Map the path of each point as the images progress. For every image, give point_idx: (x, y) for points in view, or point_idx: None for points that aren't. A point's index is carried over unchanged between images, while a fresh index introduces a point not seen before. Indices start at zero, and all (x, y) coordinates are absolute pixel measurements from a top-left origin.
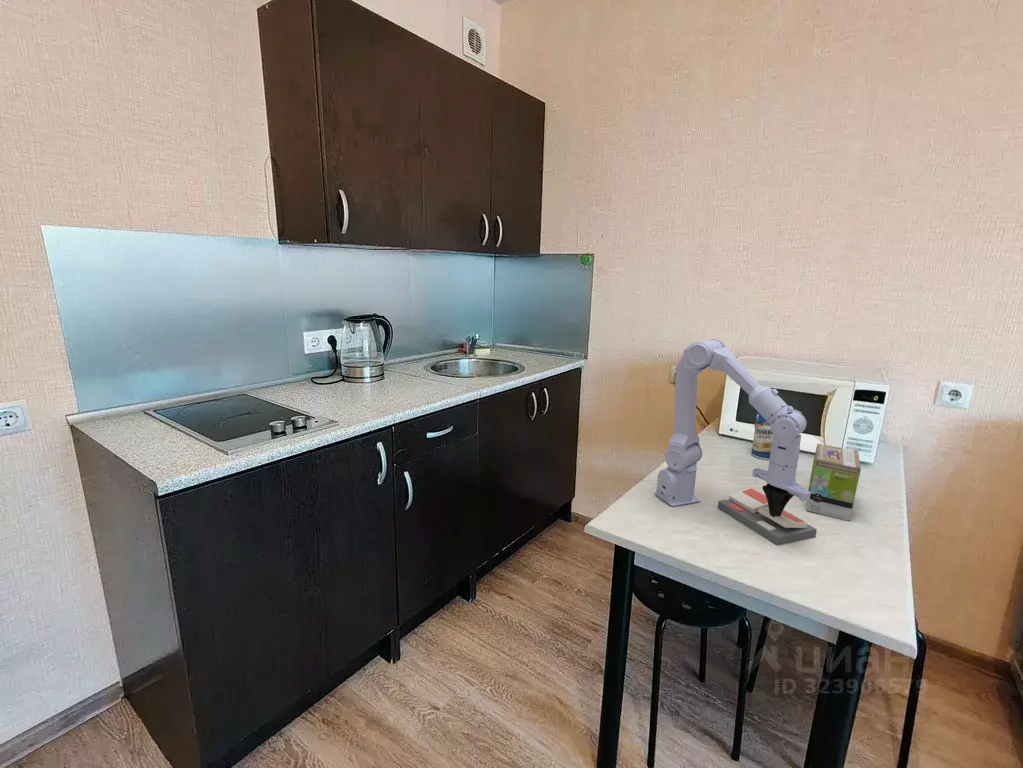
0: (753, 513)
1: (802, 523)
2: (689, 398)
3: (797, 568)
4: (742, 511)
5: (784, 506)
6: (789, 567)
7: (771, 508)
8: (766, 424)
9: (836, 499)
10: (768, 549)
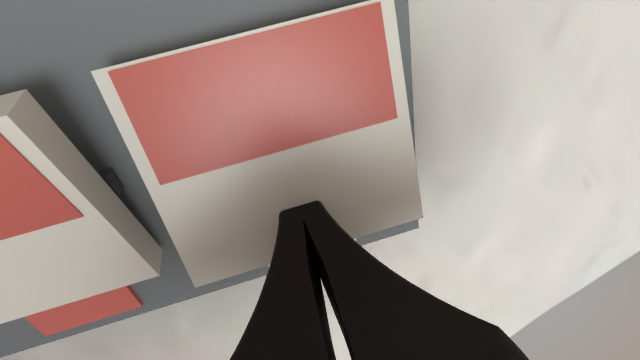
0: (161, 248)
1: (400, 62)
2: None
3: (537, 204)
4: (132, 286)
5: (356, 247)
6: (521, 225)
7: (323, 303)
8: None
9: None
10: (414, 242)
